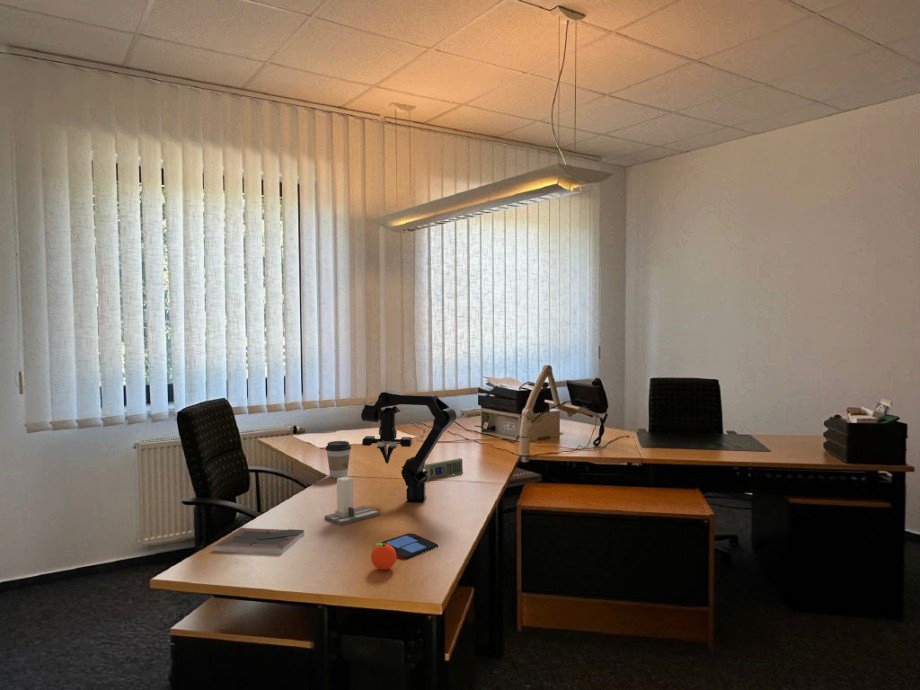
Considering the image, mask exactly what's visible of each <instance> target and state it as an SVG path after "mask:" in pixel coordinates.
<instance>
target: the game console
mask: <svg viewBox="0 0 920 690" xmlns="http://www.w3.org/2000/svg"><path fill="white" fill-rule="evenodd" d="M380 543H385V544H389V545H391V546H392V547H393V548H394V550H395V552H396V558H398V559H400V558H401V560H404V559H406V560H409V559H411V557H412V558H414V557H416V555H417V556H420V555H421V553H422V554H424V553H426V552H425V551H427V552H429V551H432V550H434V549H433V548H435V547H437V548H439V544H438V543H437V542H434V541H431V540H429V539H427V538H424V537H422V536H419V535H418V534H415V533H412V532H411V533H410V532H409V533H405V534H402V535H399V536H396V537H393V538H390V539H387V540H385V541H382V542H380ZM431 549H432V550H431ZM435 549H436V548H435ZM428 550H429V551H428ZM423 552H424V553H423Z"/></svg>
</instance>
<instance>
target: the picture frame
mask: <svg viewBox="0 0 920 690" xmlns="http://www.w3.org/2000/svg"><path fill="white" fill-rule="evenodd" d="M303 537H305V530H304V529H294V528H293V529H289V528H288V529H278V528H276V529H275V528H272V529H271V528H254V527H251V528H249V527H240V528H238V529H237V530H235V531H234V532H233V533H231V534H229V535H228V536H226V537H224V539H221V540H220V541H219V542H217V543H216V544H214V545H213V551H214V552H225V553H247V554H248V553H249V554H269V555H284V554H285V553H286V552H287V551H288V550H290V549H291V547H293V546H294V545H295V544H296V543H297V542H299V540H301V539H302V538H303Z"/></svg>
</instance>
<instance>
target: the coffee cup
mask: <svg viewBox="0 0 920 690" xmlns="http://www.w3.org/2000/svg"><path fill="white" fill-rule="evenodd" d="M324 449H325V451H326V456H327V462H328V463H327V465H328V468H329V469H328V470H329V475H330V478H331V477H333V478H332V479H335V478H342V477H346V476H347V477H348V474H349V473H348V472H349V464H350V463H349V461H350V453H351V449H352V445H351V444H350V443H349V441H347V440H335V441H330V442H328V443H327V445H326V446H325V448H324Z"/></svg>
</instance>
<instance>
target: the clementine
mask: <svg viewBox="0 0 920 690" xmlns="http://www.w3.org/2000/svg"><path fill="white" fill-rule="evenodd" d="M374 546H375V547H374ZM371 549H372V551H371V555H370V559H371V561H370V562H371V564H372V565H373V567H374V568H376V569H377V570H381V571H385V570H389V569H390V568H392V567H393V566H394V565H395V563H396V560H397V557H396V552H395V550H394V548H393V547H392V546H391V545H389V544H385V543H381V542H377V543H376V544H374V545H372V547H371Z"/></svg>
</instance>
